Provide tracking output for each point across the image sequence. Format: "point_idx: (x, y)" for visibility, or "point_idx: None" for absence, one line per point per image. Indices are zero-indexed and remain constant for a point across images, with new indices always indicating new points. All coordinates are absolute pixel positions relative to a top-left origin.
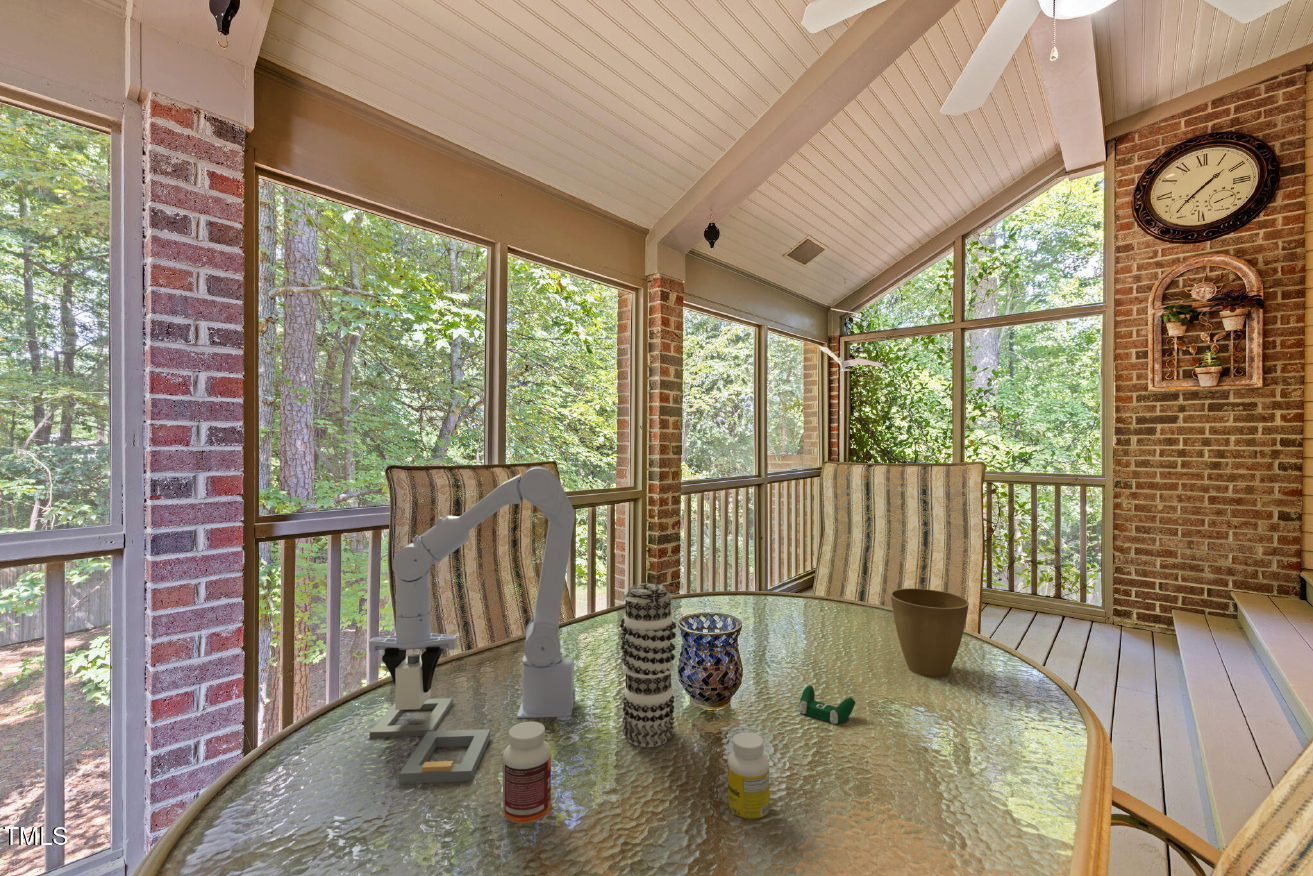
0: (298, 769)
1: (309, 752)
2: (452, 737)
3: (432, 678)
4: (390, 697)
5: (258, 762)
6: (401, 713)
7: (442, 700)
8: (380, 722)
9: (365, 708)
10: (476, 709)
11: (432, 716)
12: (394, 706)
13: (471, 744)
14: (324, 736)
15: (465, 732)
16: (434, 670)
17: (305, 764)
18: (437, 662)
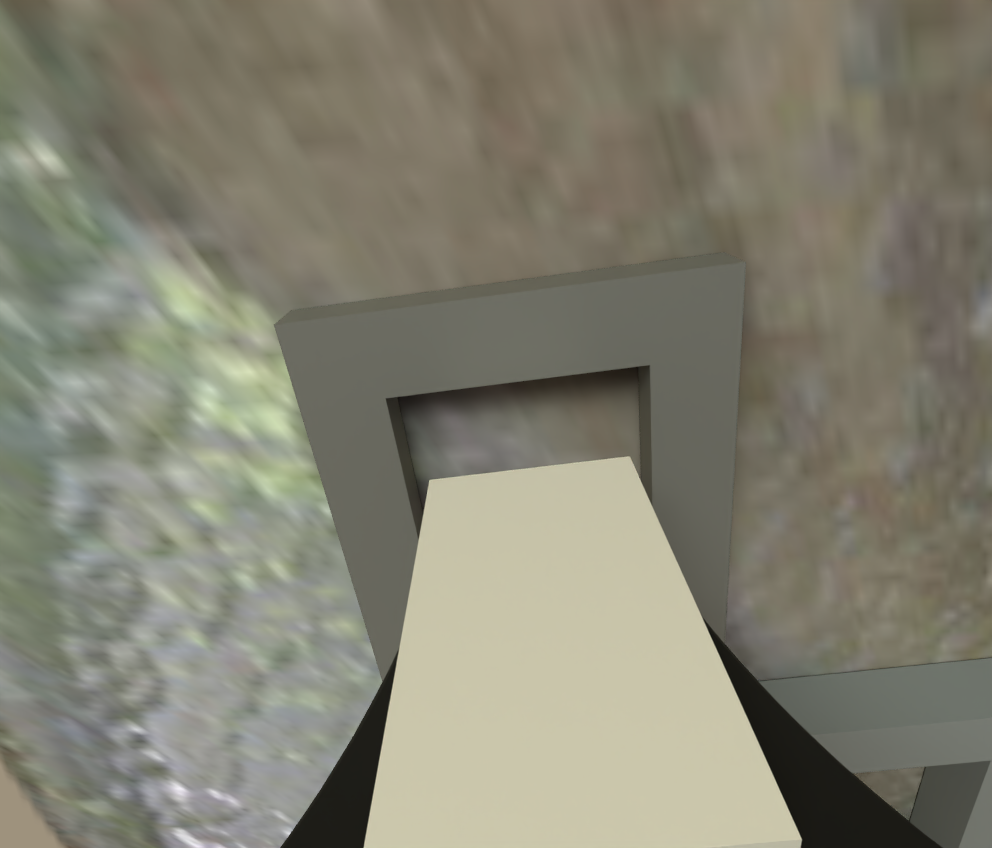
0: (264, 840)
1: (198, 763)
2: (873, 768)
3: (735, 661)
4: (103, 138)
5: (59, 820)
6: (404, 438)
7: (669, 316)
8: (381, 626)
9: (69, 356)
10: (927, 318)
11: (676, 547)
12: (328, 435)
13: (977, 812)
14: (138, 663)
15: (940, 741)
16: (797, 730)
17: (262, 819)
18: (893, 808)
